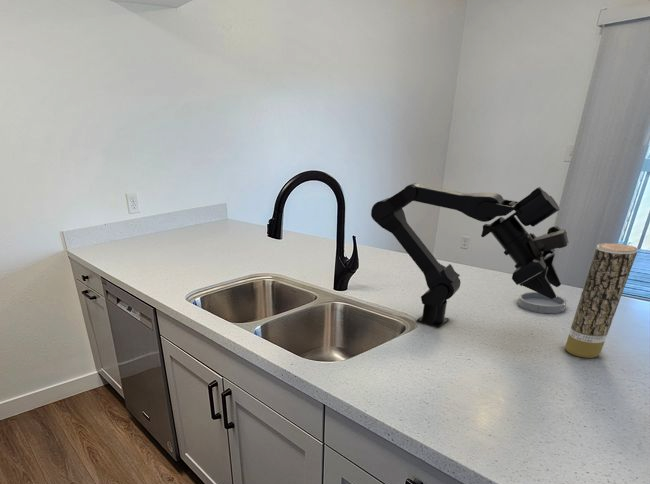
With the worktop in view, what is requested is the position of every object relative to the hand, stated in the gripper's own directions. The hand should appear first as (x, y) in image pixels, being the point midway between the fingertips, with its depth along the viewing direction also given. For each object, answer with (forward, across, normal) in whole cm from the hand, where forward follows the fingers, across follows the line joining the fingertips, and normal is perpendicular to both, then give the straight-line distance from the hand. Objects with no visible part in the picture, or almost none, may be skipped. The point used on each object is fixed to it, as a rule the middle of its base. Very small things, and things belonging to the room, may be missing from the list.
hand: (556, 291), depth 101 cm
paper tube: (+15, 0, +4) cm, 16 cm away
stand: (+7, +27, +12) cm, 30 cm away
